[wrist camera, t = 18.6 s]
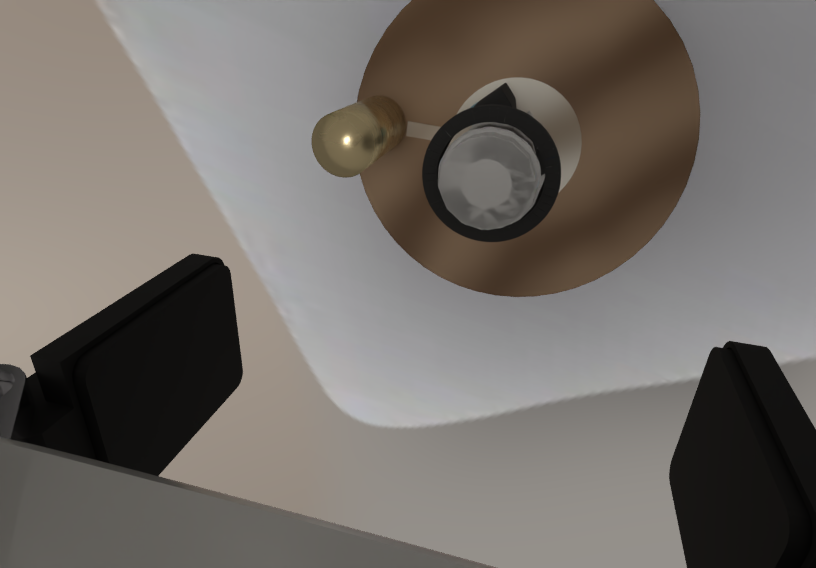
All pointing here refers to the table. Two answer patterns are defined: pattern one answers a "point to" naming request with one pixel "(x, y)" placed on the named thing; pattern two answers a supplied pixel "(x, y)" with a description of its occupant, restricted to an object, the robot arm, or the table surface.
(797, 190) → the table surface
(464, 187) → the push button
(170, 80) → the table surface
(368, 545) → the robot arm
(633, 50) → the turntable
